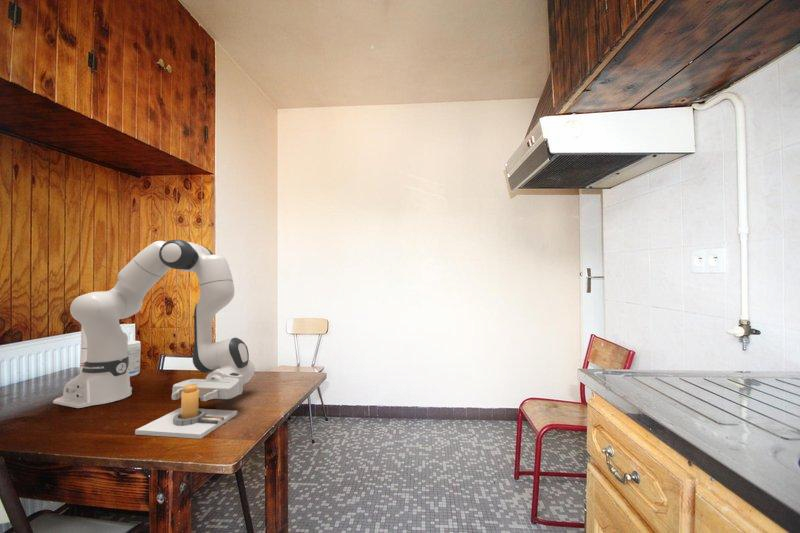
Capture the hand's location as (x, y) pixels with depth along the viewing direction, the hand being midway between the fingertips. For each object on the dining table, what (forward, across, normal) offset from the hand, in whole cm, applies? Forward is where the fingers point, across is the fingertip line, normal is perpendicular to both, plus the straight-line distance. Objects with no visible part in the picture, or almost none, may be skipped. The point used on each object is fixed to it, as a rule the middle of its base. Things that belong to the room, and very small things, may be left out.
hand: (188, 397), depth 97 cm
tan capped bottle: (-1, 0, +7) cm, 7 cm away
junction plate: (-1, 0, +8) cm, 8 cm away
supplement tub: (-42, -66, +8) cm, 79 cm away
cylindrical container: (-40, -82, +8) cm, 92 cm away
